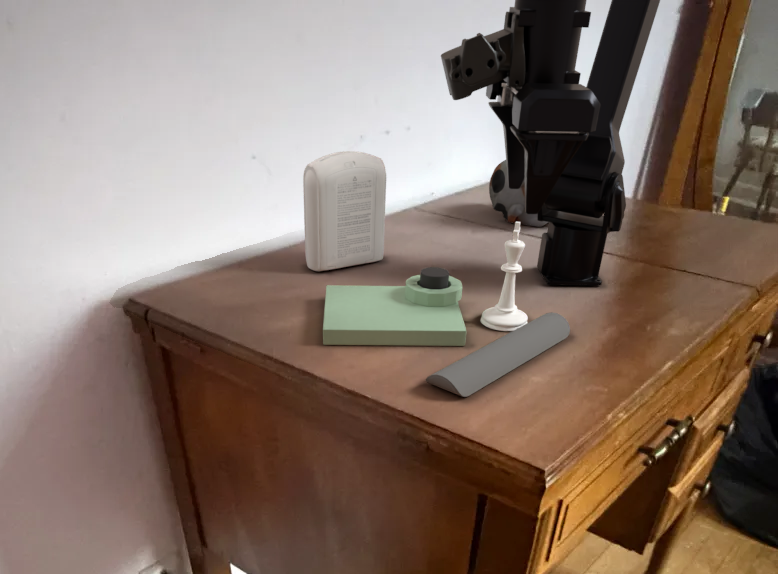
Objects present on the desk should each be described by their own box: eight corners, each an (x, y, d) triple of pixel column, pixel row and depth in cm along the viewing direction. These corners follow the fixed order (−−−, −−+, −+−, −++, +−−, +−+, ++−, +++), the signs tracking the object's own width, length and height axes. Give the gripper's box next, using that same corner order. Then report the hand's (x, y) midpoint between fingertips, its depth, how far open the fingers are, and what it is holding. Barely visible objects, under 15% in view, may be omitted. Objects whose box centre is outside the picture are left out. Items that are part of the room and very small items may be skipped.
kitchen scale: (455, 300, 80) (458, 273, 78) (469, 346, 71) (472, 316, 69) (326, 299, 80) (326, 272, 78) (323, 345, 70) (322, 315, 69)
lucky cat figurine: (578, 205, 111) (628, 124, 99) (571, 259, 106) (622, 180, 94) (488, 171, 110) (528, 83, 97) (477, 224, 104) (516, 138, 92)
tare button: (446, 281, 77) (447, 267, 76) (449, 291, 75) (450, 276, 74) (418, 281, 77) (419, 266, 76) (420, 291, 75) (421, 276, 74)
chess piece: (530, 316, 77) (547, 218, 71) (523, 334, 73) (539, 232, 67) (485, 310, 78) (497, 212, 72) (476, 327, 75) (487, 226, 68)
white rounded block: (370, 252, 93) (372, 144, 85) (389, 261, 90) (392, 151, 82) (300, 265, 88) (295, 153, 80) (318, 275, 85) (314, 160, 78)
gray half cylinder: (572, 335, 73) (575, 318, 72) (459, 402, 62) (461, 383, 61) (536, 324, 75) (539, 307, 74) (420, 386, 64) (422, 368, 63)
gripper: (441, -13, 65) (429, 175, 75) (466, -3, 51) (447, 228, 61) (562, -10, 66) (534, 177, 75) (622, 0, 51) (578, 230, 61)
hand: (522, 200), depth 68 cm, fingers open, 9 cm apart
